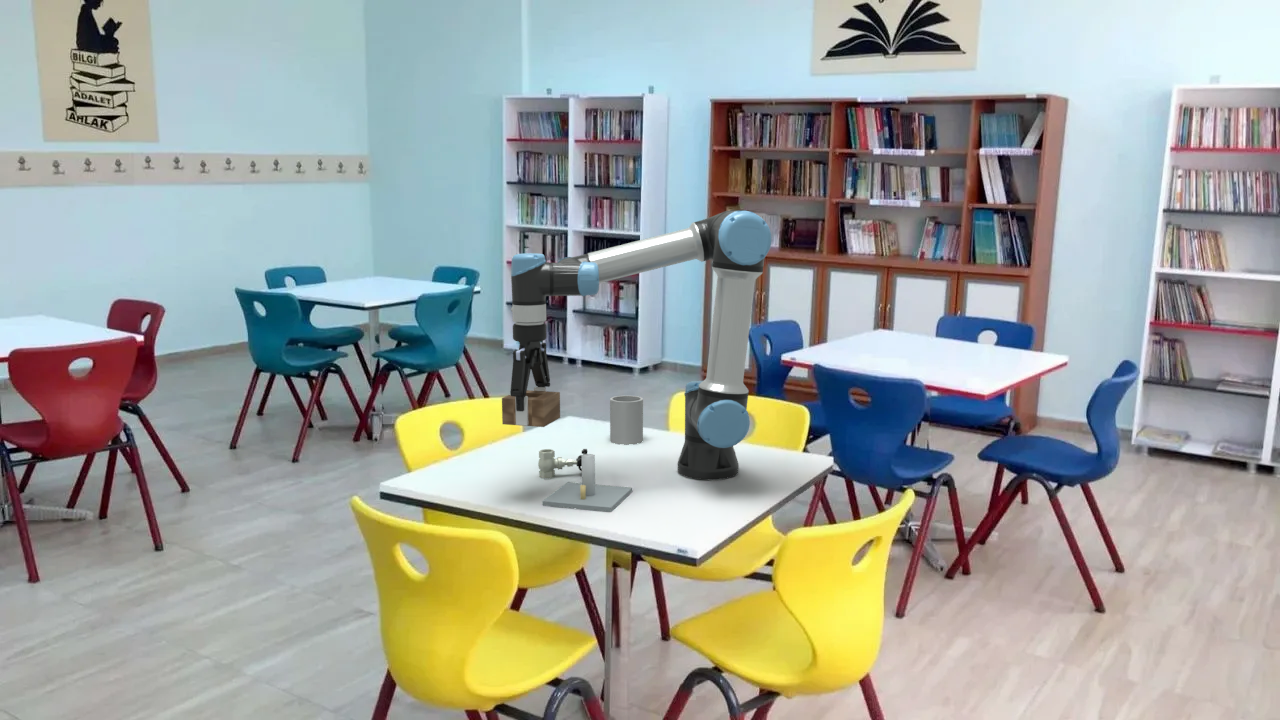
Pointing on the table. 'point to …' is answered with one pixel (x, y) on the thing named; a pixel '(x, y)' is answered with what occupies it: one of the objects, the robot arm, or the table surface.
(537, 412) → the brown u-shaped block
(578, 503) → the post board
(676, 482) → the table surface
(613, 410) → the cup
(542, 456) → the valve
